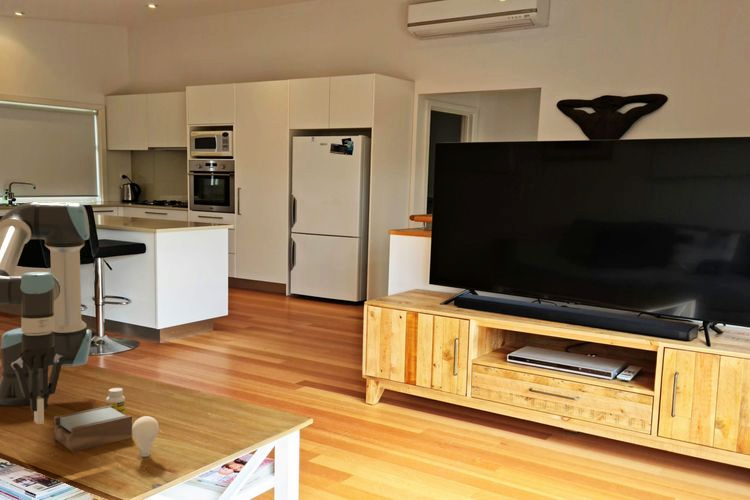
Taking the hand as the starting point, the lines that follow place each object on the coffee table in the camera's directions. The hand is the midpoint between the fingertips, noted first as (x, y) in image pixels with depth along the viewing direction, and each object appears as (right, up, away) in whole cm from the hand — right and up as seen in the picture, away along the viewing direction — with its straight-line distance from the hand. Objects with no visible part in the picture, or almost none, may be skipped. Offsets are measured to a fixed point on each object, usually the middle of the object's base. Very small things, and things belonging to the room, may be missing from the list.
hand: (39, 422), depth 177 cm
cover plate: (+10, -3, +10) cm, 15 cm away
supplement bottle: (+10, -7, +27) cm, 30 cm away
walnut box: (+10, -8, +11) cm, 17 cm away
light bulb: (+27, -10, +1) cm, 29 cm away
